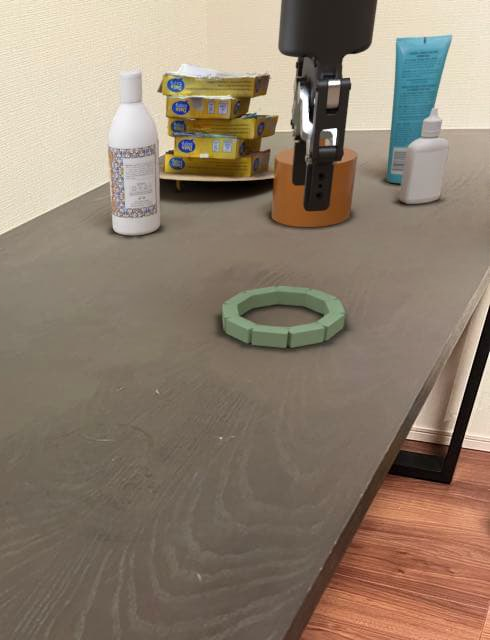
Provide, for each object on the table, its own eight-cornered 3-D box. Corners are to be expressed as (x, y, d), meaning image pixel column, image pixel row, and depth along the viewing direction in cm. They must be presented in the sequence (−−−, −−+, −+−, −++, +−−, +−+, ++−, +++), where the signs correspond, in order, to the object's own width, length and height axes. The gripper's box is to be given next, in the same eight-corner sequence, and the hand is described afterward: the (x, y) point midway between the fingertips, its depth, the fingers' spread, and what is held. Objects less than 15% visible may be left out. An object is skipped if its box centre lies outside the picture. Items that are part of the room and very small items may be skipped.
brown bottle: (342, 201, 117) (354, 103, 109) (356, 224, 109) (370, 120, 101) (267, 206, 119) (273, 109, 110) (275, 229, 110) (282, 126, 102)
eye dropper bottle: (440, 205, 112) (458, 111, 105) (398, 204, 114) (413, 112, 107) (439, 196, 116) (456, 104, 108) (398, 196, 117) (412, 105, 110)
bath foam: (120, 221, 118) (112, 68, 106) (165, 221, 116) (162, 66, 104) (107, 236, 113) (97, 77, 101) (153, 237, 111) (149, 75, 99)
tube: (422, 174, 125) (447, 31, 113) (430, 183, 121) (457, 36, 109) (374, 177, 126) (393, 36, 114) (380, 186, 122) (401, 40, 110)
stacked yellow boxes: (180, 159, 144) (180, 54, 134) (309, 170, 132) (319, 54, 122) (104, 196, 130) (97, 81, 119) (240, 212, 117) (245, 84, 107)
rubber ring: (331, 296, 90) (333, 283, 89) (351, 346, 80) (353, 331, 79) (220, 301, 92) (220, 288, 91) (226, 350, 81) (226, 336, 80)
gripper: (399, -15, 57) (365, 218, 67) (362, -27, 68) (338, 174, 78) (293, -7, 58) (275, 222, 68) (273, -20, 69) (260, 178, 79)
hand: (308, 196), depth 73 cm, fingers open, 8 cm apart
